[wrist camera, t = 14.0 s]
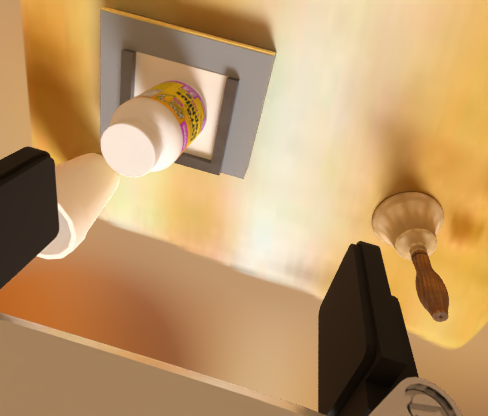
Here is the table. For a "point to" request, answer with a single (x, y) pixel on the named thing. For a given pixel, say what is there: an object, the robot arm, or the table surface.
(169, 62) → the loading dock
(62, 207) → the foam cup
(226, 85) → the bay rails
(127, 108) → the supplement bottle
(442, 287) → the hand bell
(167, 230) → the table surface
